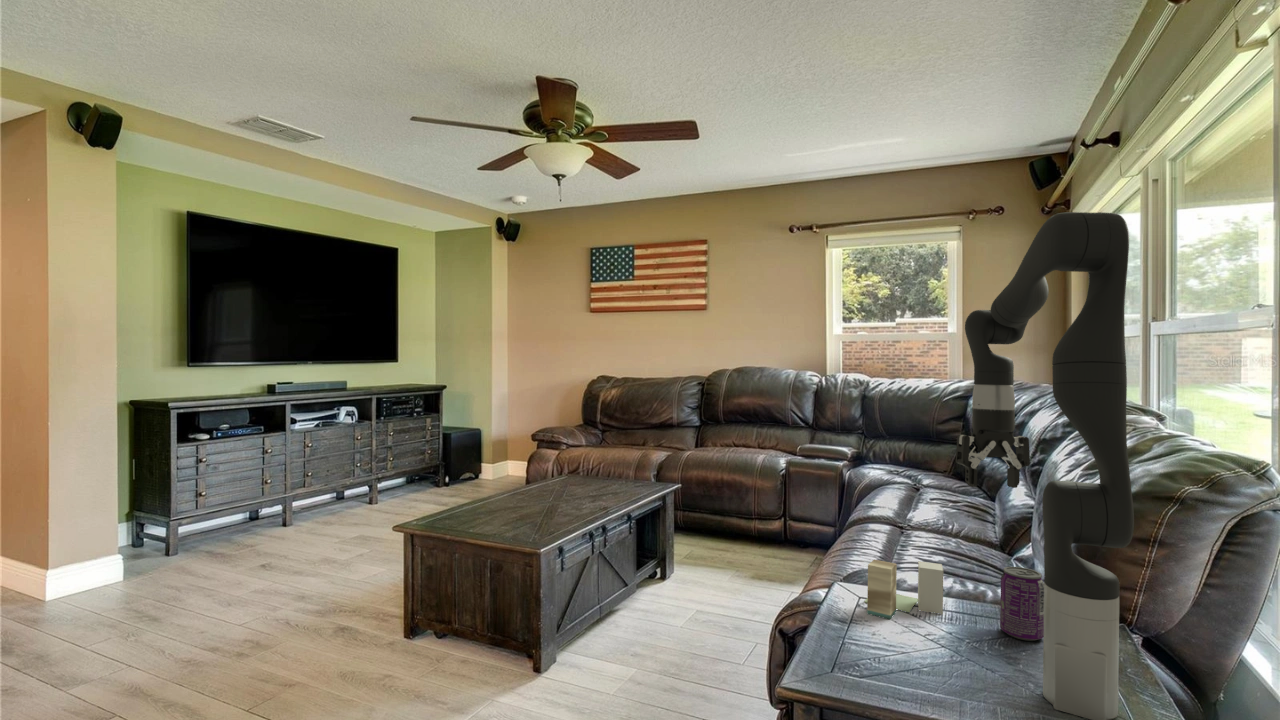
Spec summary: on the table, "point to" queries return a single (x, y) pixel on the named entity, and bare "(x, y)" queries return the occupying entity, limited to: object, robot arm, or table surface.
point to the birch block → (882, 588)
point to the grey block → (930, 587)
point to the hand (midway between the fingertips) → (992, 486)
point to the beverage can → (1022, 603)
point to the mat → (904, 602)
